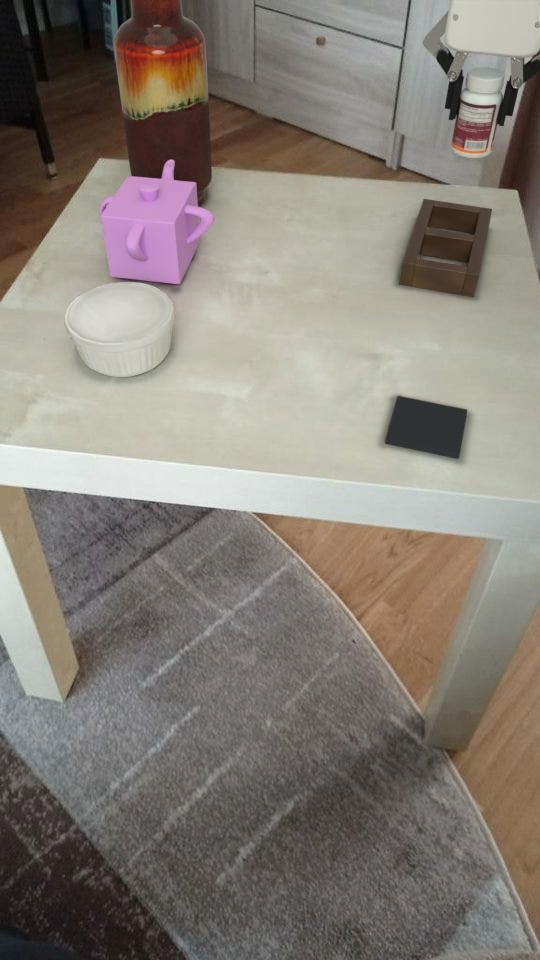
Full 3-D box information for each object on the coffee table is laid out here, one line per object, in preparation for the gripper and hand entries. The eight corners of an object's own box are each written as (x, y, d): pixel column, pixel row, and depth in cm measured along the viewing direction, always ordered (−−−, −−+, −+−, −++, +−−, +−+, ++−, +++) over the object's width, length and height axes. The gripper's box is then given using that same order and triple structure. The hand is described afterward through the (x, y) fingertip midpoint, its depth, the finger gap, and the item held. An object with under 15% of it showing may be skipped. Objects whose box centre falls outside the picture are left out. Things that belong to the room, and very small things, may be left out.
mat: (466, 413, 73) (467, 409, 73) (458, 459, 69) (459, 454, 69) (397, 399, 75) (397, 395, 74) (385, 443, 70) (385, 439, 70)
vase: (122, 211, 100) (89, -13, 81) (150, 175, 107) (125, -38, 88) (199, 221, 99) (185, -5, 79) (222, 184, 106) (214, -31, 86)
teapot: (131, 220, 98) (121, 144, 91) (232, 231, 97) (230, 154, 89) (85, 296, 86) (69, 215, 79) (200, 309, 85) (194, 228, 77)
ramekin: (53, 371, 77) (42, 329, 73) (105, 312, 84) (97, 272, 80) (149, 396, 75) (143, 354, 71) (194, 333, 82) (191, 293, 78)
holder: (487, 229, 98) (492, 208, 96) (473, 297, 87) (479, 275, 85) (419, 219, 100) (423, 198, 97) (398, 284, 89) (402, 262, 87)
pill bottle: (465, 139, 89) (480, 62, 83) (499, 151, 86) (517, 73, 80) (441, 150, 86) (455, 72, 80) (475, 163, 84) (492, 84, 78)
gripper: (609, -81, 71) (554, 115, 85) (434, -92, 75) (408, 98, 88) (610, -65, 66) (552, 141, 80) (422, -78, 70) (397, 122, 83)
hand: (477, 116), depth 84 cm, fingers closed on pill bottle, 4 cm apart
